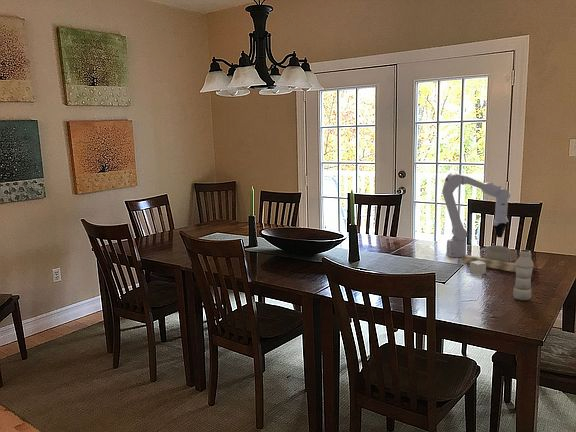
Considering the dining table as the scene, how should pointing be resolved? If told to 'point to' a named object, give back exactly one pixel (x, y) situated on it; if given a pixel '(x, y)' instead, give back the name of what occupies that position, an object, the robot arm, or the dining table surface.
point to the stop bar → (490, 263)
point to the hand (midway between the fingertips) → (499, 237)
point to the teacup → (497, 253)
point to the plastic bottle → (523, 276)
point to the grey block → (477, 267)
